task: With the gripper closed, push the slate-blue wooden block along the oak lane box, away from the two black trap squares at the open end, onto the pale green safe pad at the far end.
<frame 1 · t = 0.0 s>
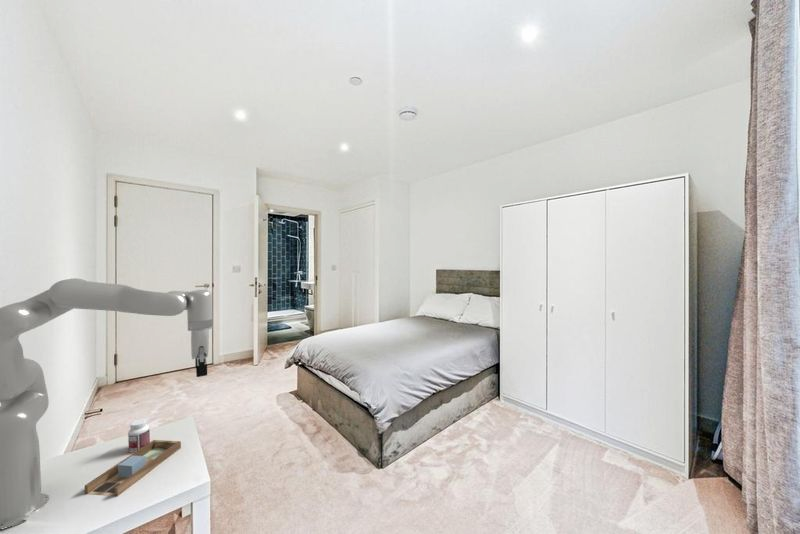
hand: (201, 371, 114), 31 cm above the table, tool pointing down, fingers open, 9 cm apart
lane box: (138, 471, 107), on the table
block: (132, 472, 105), point 1 cm above the table, touching lane box
pill bottle: (139, 451, 118), on the table
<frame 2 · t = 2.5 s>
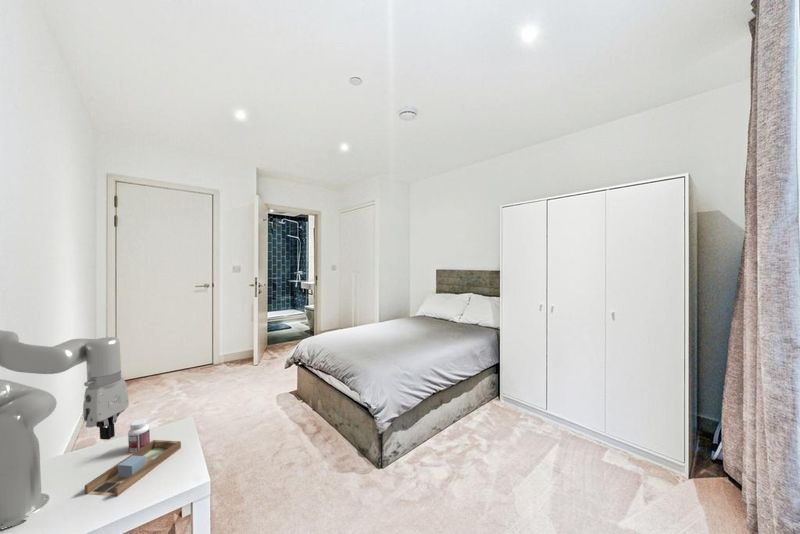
hand: (107, 437, 96), 17 cm above the table, tool pointing down, fingers closed
nothing on the table moved.
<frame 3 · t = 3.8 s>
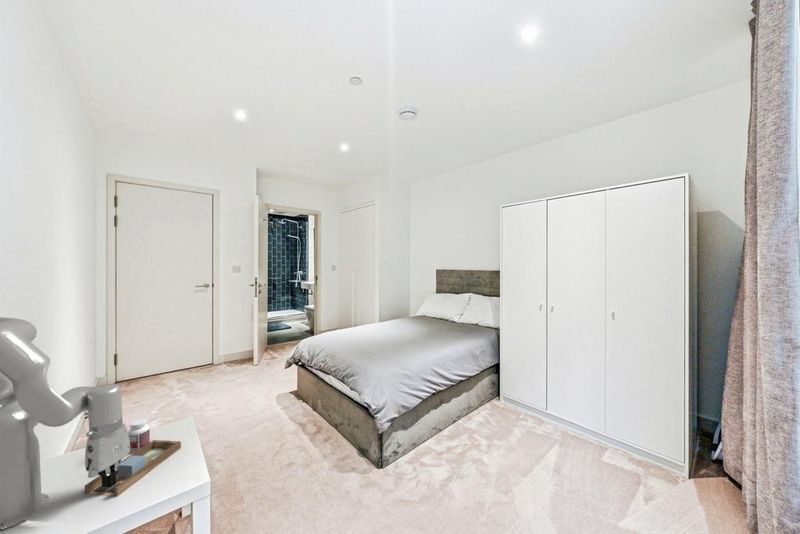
hand: (109, 485, 97), 2 cm above the table, tool pointing down, fingers closed
nothing on the table moved.
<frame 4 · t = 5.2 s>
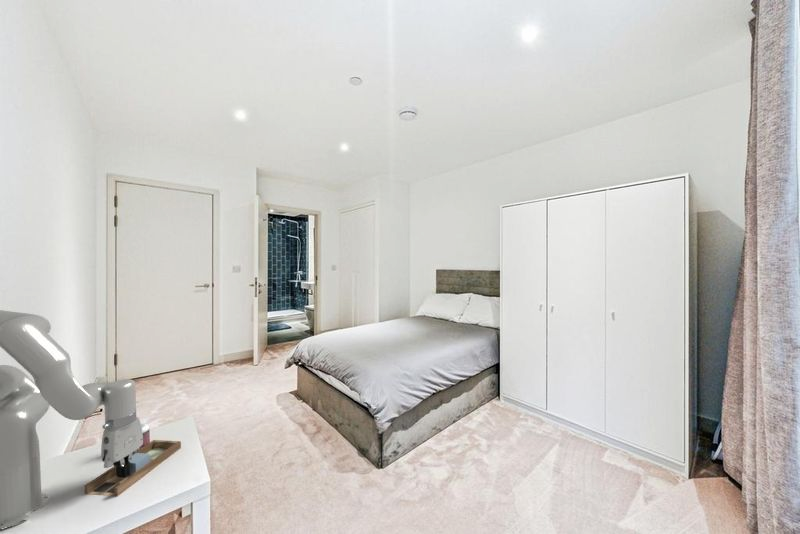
hand: (123, 475, 101), 2 cm above the table, tool pointing down, fingers closed
block: (136, 469, 106), point 1 cm above the table, touching gripper, lane box
everything else where it was.
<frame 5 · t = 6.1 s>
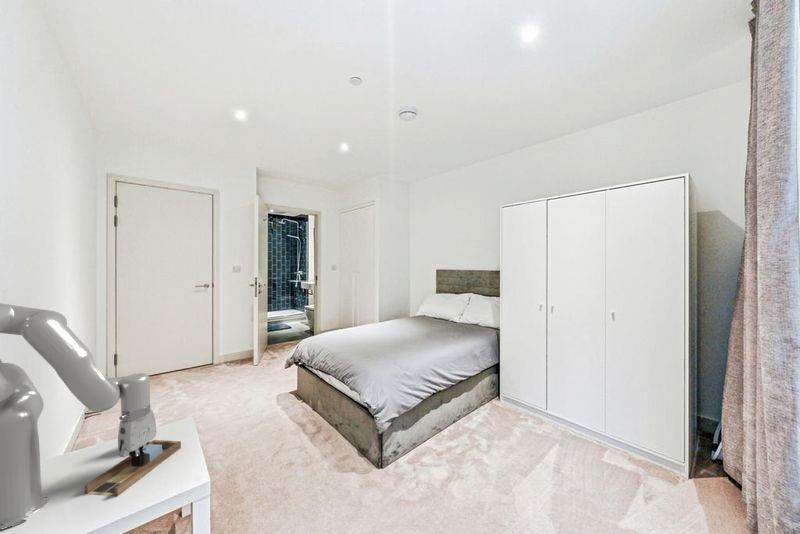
hand: (138, 464, 107), 2 cm above the table, tool pointing down, fingers closed
block: (149, 459, 111), point 1 cm above the table, touching gripper, lane box
everything else where it was.
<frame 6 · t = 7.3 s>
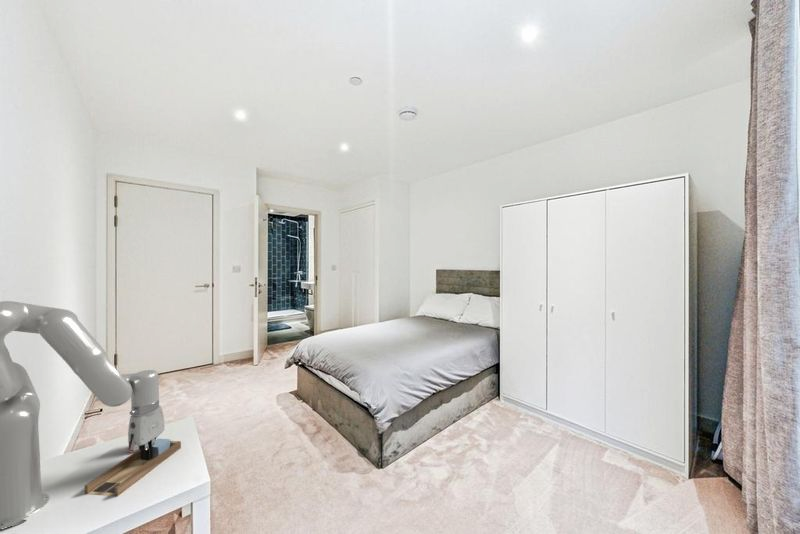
hand: (146, 458, 110), 2 cm above the table, tool pointing down, fingers closed
block: (158, 453, 115), point 1 cm above the table, touching gripper, lane box
everything else where it was.
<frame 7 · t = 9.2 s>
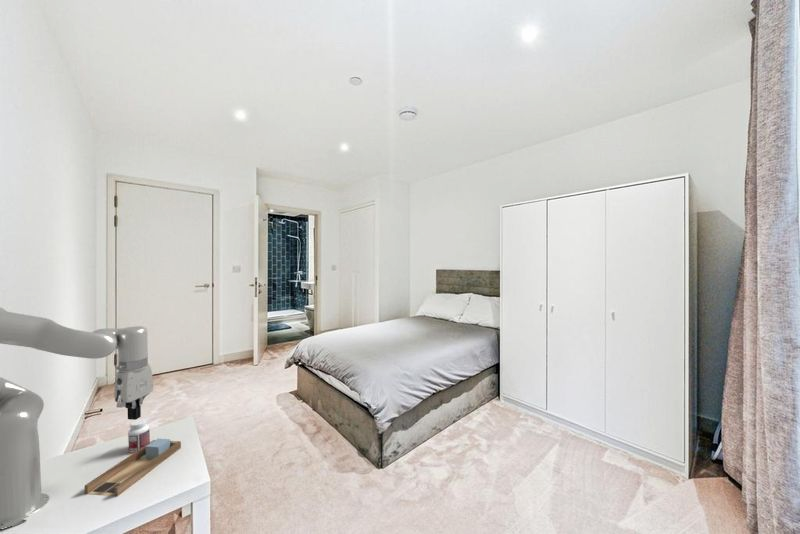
hand: (134, 418, 105), 19 cm above the table, tool pointing down, fingers closed
block: (158, 453, 115), point 1 cm above the table, touching lane box
everything else where it was.
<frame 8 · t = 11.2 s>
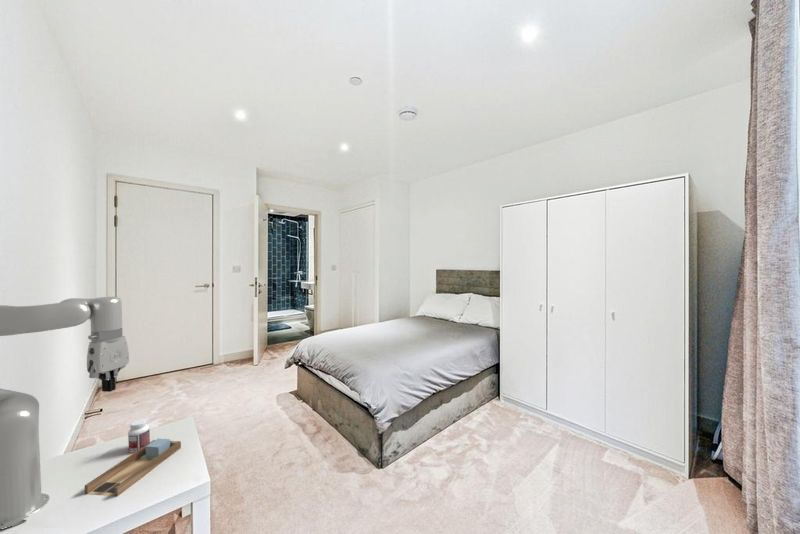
hand: (108, 390, 103), 29 cm above the table, tool pointing down, fingers closed
nothing on the table moved.
at the end: block 0.4 cm from the target spot on the lane box, point 1.0 cm above the lane box's base; block tilted 0°; block moved 10.1 cm from its start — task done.
